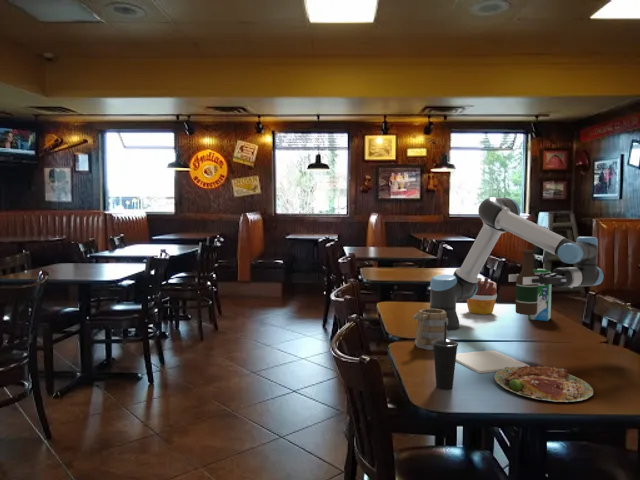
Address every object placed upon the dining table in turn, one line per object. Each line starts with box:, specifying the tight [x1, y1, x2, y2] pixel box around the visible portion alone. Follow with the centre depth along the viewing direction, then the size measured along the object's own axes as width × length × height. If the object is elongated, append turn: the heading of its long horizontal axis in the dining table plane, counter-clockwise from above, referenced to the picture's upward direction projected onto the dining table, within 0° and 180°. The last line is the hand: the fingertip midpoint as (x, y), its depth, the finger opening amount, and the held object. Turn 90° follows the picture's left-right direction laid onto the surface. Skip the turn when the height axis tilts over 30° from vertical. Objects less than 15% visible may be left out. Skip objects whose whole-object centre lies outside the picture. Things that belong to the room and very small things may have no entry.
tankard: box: [412, 308, 449, 351], centre depth 197 cm, size 20×13×15 cm, turn 135°
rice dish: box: [494, 364, 595, 403], centre depth 155 cm, size 28×28×5 cm
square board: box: [455, 349, 531, 374], centre depth 179 cm, size 20×20×1 cm
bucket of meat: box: [466, 277, 498, 316], centre depth 265 cm, size 20×16×20 cm
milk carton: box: [527, 268, 553, 322], centre depth 252 cm, size 9×9×25 cm
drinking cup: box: [432, 322, 459, 391], centre depth 153 cm, size 8×8×20 cm
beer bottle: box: [515, 249, 538, 316], centre depth 191 cm, size 8×8×24 cm
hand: (516, 279), depth 189 cm, fingers closed on beer bottle, 7 cm apart
